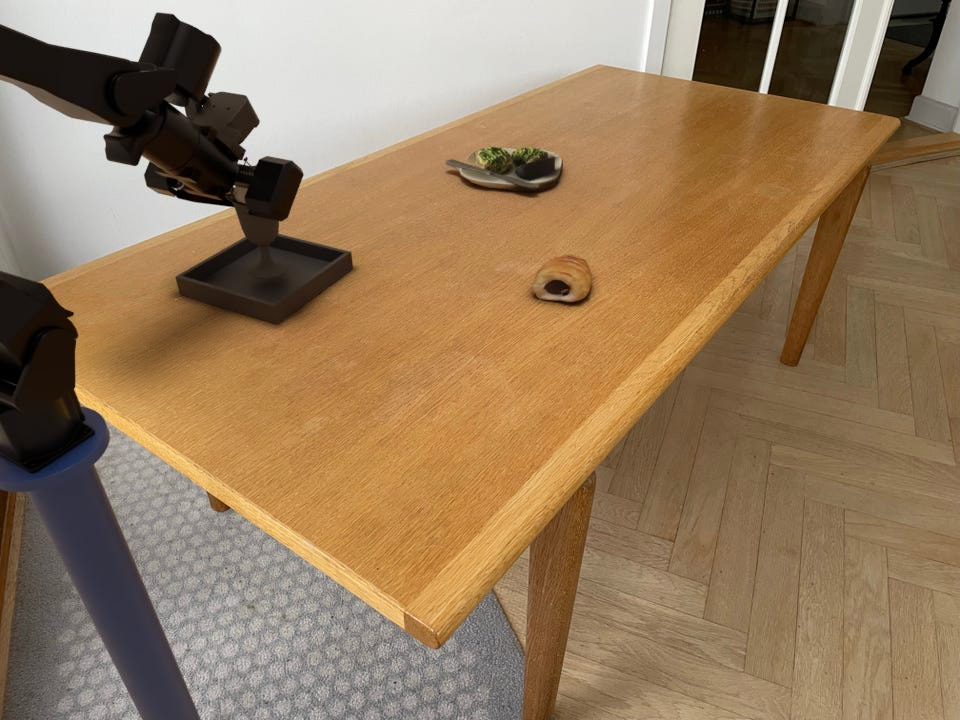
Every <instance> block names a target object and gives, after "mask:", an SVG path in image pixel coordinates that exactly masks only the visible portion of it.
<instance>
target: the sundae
mask: <svg viewBox="0 0 960 720" xmlns="http://www.w3.org/2000/svg"><path fill="white" fill-rule="evenodd" d="M248 160H249V158H248V156H245V157H243V160H242V161H243V162H244V163H243V165H247V166H252V167H254V166H255V165H251V164H250V163H249V162H248ZM246 192H247V188H242V187H238V186H234V189H233V192H232V194H230V195H229V194H226V195H225V197H226V199H228V200H229V201H231V202H232V203H233V205H234V207H233V208H234V210H235V213H236V216H237V218H238V221H239V225H240V227H241V230H242V231H243V232H242V233H243V235H244V237H246V238H247V239H248V240H249V241H250V242H252V243H254V244H256V245H258V246H259V249H260V262H257V263H254V264H253V265H251V266H250V267H249V268H248V274H249V275H250V276H252V277H254V278H257V279H271V278H275V277H278V276H281V275H283V274H284V273H286V271H287V270H288V265H287V264H286V263H284V262H283V261H280V260H273V259H272V257H271V254H270V250H269V245H270V244H271V243H272V242H273V241H274V240H275V238H276V237H277V235H278V234H279V232H280V231H279V229H280V221H276V220H272V219H265V218H261V217H256V216H252V215H248V212H249V210H247V209H246V204H245V198H244V197H245V194H246Z"/></svg>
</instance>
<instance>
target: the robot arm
mask: <svg viewBox="0 0 960 720" xmlns="http://www.w3.org/2000/svg"><path fill="white" fill-rule="evenodd" d="M222 49H223V48H222V46H221V43H219V42H218V40H217V39H216V38H215V37H214V36H213V35H212V34H209V33H206V32H204V31H203V30H201V29H199V28H198V27H196V26H194V25H191V24H190V23H187V22H184V21H182V20H181V19H179V18H178V17H177V16H176V15H175V14H174V13H167V12H155V15H154V17H153V18H152V22H151V25H150V31H149V33H148V36H147V39H146V40H145V44H144V45H143V49H142V51H141V53H140V56H139V58H138V60H137V61H134V60H130V59H128V58H124V57H120V56H114V55H109V54H106V53H105V54H104V53H99V52H94V51H89V50H83V49H78V48H72V47H68V46H62V45H57V44H52V43H48V42H46V41H43V40H40V39H38V38H36V37H34V36H31V35H29V34H26V33H23V32H21V31H19V30H16V29H13V28H11V27H8V26H6V25H3V24H1V23H0V81H2V82H5V83H8V84H11V85H13V86H15V87H18V88H19V89H21V90H23V91H25V92H27V93H28V94H29V95H30V96H31V97H33V98H34V99H35V100H37V102H39V103H41V104H43V105H45V106H47V107H49V108H51V109H52V110H55V111H57V112H59V113H61V114H62V115H64V116H66V117H68V118H70V119H74V120H81V121H85V122H89V123H96V124H101V125H106V126H111V127H112V130H111V131H110V132H108V133H105V134H103V136H102V137H103V138H102V139H103V141H104V142H105V147H104V153H105V158H106V160H107V161H108V162H112V163H117V164H121V165H126V166H132V167H137V166H139V163H140V161H141V158H142V157H143V158H144V159H146V160H147V161H148V163H147V166H146V168H145V171H144V174H143V177H144V182H145V186H146V187H147V188H149V189H150V190H151V191H153V192H155V193H157V194H159V195H164V196H168V197H172V198H177V199H178V200H182V201H186V202H192V203H198V204H204V205H213V206H221V207H229V208H234V205H233V203H232V202H231V201H229V200H228V199H226V197H225V195H226V194H229V195H230V194H232V192H233V189H234V187H236V186H238V187H242V188H247V192H246V194H245V197H244V198H245V204H246V209H247V210H249V212H248V215H252V216H256V217H261V218H265V219H272V220H276V221H279V222H284V221H285V220H286V219H288V218H289V216H290V213H291V210H292V207H293V205H294V201H295V199H296V197H297V194H298V191H299V188H300V186H301V183H302V180H303V178H304V171H303V169H302V168H301V167H300V166H299V165H298V164H297V163H295V162H294V161H293V160H290V159H285V158H281V157H276V156H275V157H274V156H270V155H266V156H264V157H261V158H259V159H258V161H257V163H256V164H255V165H251V166H249V165H248V164H245V165H244V164H241V163H238V162H239V161H243V159H244V158H245V154H246V152H247V149H245V147H243V146H242V144H243V143H244V141H245V140H246V139H247V138H248V136H249V135H250V134H251V133H252V132H253V130H254V129H256V128H257V129H258V126H259V125H260V122H261V120H260V118H259V116H258V114H257V113H256V110H255V109H254V107H253V105H252V103H251V101H250V100H249V98H248V96H247V95H245V94H240V93H235V92H227V91H218V92H210V91H209V92H208V93H207V95H206V91H207V89H208V87H209V83H210V81H211V79H212V76H213V73H214V71H215V69H216V66H217V64H218V61H219V59H220V57H221V53H222ZM177 107H180V108H184V111H185V114H184V113H183V112H181V111H180V110H179V109H178V108H177ZM252 166H254V167H252ZM74 315H75V312H74V311H72V310H69V309H66V308H65V307H64V306H62V305H61V304H60V303H59V302H58V301H57V299H56V297H55V296H54V294H53V293H52V292H51V290H50V289H49V288H48V287H47V286H46V285H45V284H44V283H42V282H39V281H37V280H33V279H30V278H26V277H23V276H20V275H17V274H13V273H9V272H6V271H3V270H0V456H1V457H2V458H4V459H6V460H8V461H9V462H11V463H13V464H15V465H16V466H18V467H20V468H22V469H23V470H25V471H27V472H29V473H31V474H33V473H37V472H39V471H40V470H42V469H43V468H45V467H46V466H48V465H49V464H51V463H52V462H54V461H55V460H57V459H58V458H60V457H62V456H63V455H65V454H66V453H68V452H69V451H71V450H72V449H74V448H75V447H77V446H78V445H80V444H81V443H83V442H84V441H86V440H87V439H89V438H90V437H92V436H93V435H95V430H94V428H92V427H90V426H88V425H86V424H84V423H82V422H84V421H85V419H86V417H85V415H84V412H83V410H82V407H83V406H82V405H81V403H80V400H79V397H78V394H77V393H76V390H75V389H76V348H77V339H78V338H79V333H78V329H77V327H76V326H75V325H74V323H73V321H72V320H71V319H70V318H71V317H74Z"/></svg>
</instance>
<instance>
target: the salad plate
mask: <svg viewBox="0 0 960 720" xmlns="http://www.w3.org/2000/svg"><path fill="white" fill-rule="evenodd" d="M444 164H445V165H446V166H448V167H450V168H453V169H455V170H456V171H458V172H459V175H460V176H461V177H462V178H464V179H465V180H467V181H469V182H470V183H473V184H475V185H478V186H481V187H482V188H483V187H484V188H488V189H497V190H505V191H512V192H524V193H525V192H527V193H533V192H541V191H545V190H548V189H551V188H552V187H553V186H554V185H555V184H556V183H557V182H558V180H559V178H560V175H561V172H562V170H563V167H564V160H563V158H562V157H561V155H559V154H557V152H553V151H550V150H547V149H546V150H545V149H541V148H536V147H531V146H529V148H528V147H526V146H524V147H521V148H509V147H501V146H500V147H499V146H489V145H488V146H486V147H482V148H479V149H476V150H473V151H472V152H471V153H469V155H468V156H467V157H466V159H465V161H464V162H462V161H459V160H456V159H452V158H449V159H446V160H445V163H444Z"/></svg>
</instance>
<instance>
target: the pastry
mask: <svg viewBox="0 0 960 720" xmlns="http://www.w3.org/2000/svg"><path fill="white" fill-rule="evenodd" d="M592 281H593V274H592V271H591V268H590V265H589V263H588V262H587V260H586V259H585V258H582V257H578V256H576V255H574V254H569V253H567V254H563V255H560V256H554V257H553V258H550V259H548V260H547V261H546V262H544V264H543V265H542V267H540V268H539V269H538V270H537V271H536V274H535V280H534V284H533V285H532V287H531V289H532V291H533V293H534V294H535V296H536V297H537V298H538V299H540V300H546V301H560V302H566V303H574V302H580V301H581V300H583V299H584V298H586V297H587V296H588V294H589V292H590V290H591V285H592Z"/></svg>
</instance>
